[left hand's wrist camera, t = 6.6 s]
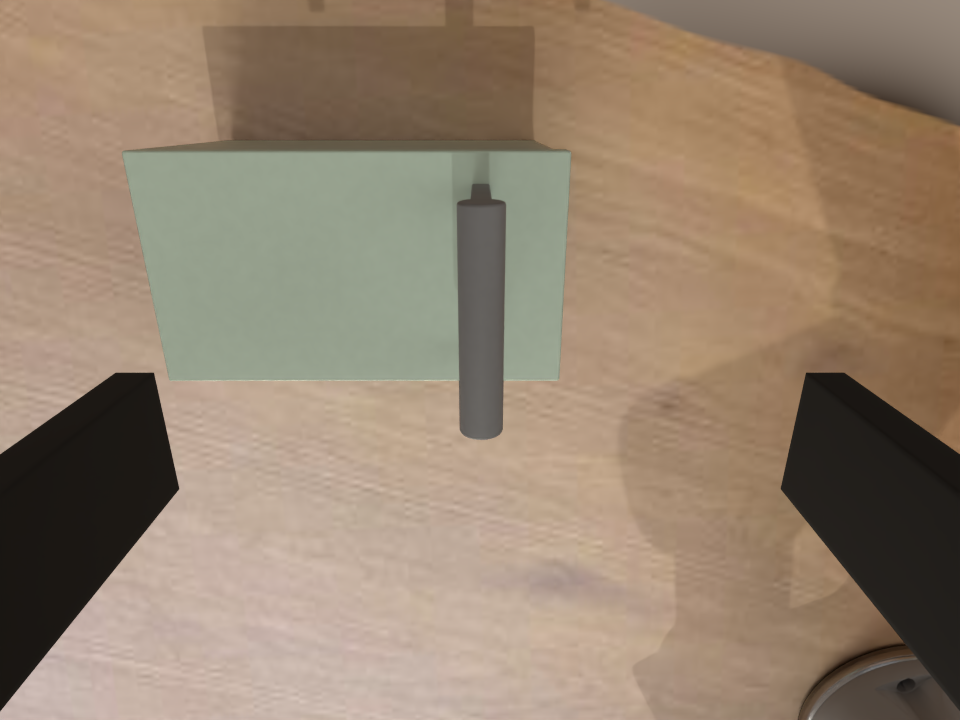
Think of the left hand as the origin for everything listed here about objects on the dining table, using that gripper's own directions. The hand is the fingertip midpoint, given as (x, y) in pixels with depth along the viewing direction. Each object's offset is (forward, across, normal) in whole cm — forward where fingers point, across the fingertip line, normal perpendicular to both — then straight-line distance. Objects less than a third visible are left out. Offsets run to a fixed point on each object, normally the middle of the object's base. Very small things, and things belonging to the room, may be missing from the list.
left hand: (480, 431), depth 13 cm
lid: (+15, +5, 0) cm, 15 cm away
